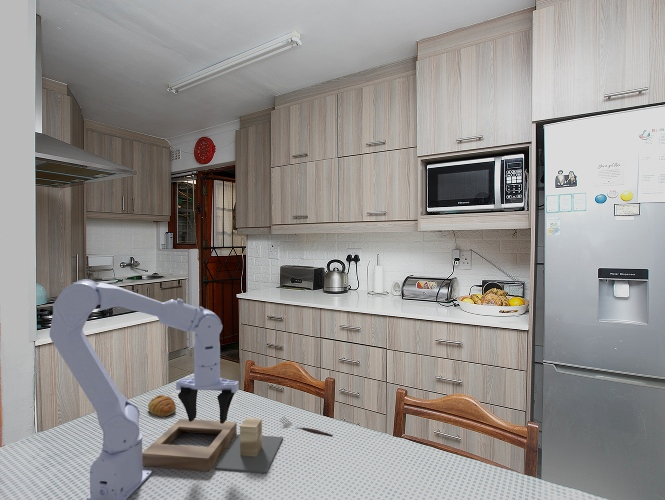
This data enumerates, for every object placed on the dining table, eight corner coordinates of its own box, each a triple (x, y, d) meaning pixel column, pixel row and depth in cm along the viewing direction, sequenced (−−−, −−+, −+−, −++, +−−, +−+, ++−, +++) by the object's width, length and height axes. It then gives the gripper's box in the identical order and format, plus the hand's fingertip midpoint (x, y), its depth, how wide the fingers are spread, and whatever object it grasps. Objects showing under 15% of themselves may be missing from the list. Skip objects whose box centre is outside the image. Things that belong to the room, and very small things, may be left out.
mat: (266, 473, 79) (266, 471, 79) (214, 469, 80) (214, 467, 80) (282, 438, 93) (282, 437, 93) (238, 435, 94) (238, 434, 94)
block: (256, 456, 84) (256, 427, 84) (240, 455, 85) (240, 426, 85) (262, 446, 88) (261, 418, 88) (246, 445, 89) (246, 417, 89)
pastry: (182, 412, 108) (181, 399, 108) (159, 421, 102) (159, 408, 102) (167, 403, 114) (167, 391, 114) (145, 411, 108) (145, 398, 108)
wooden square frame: (208, 471, 79) (208, 458, 79) (142, 466, 81) (141, 453, 81) (236, 433, 95) (236, 422, 95) (180, 429, 97) (180, 418, 97)
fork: (330, 440, 93) (330, 432, 92) (278, 426, 99) (278, 419, 99) (334, 435, 95) (334, 427, 95) (283, 422, 102) (283, 415, 102)
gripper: (243, 358, 86) (244, 413, 86) (187, 356, 88) (187, 410, 88) (231, 368, 79) (232, 429, 79) (170, 366, 81) (171, 425, 81)
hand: (207, 420), depth 83 cm, fingers open, 7 cm apart
